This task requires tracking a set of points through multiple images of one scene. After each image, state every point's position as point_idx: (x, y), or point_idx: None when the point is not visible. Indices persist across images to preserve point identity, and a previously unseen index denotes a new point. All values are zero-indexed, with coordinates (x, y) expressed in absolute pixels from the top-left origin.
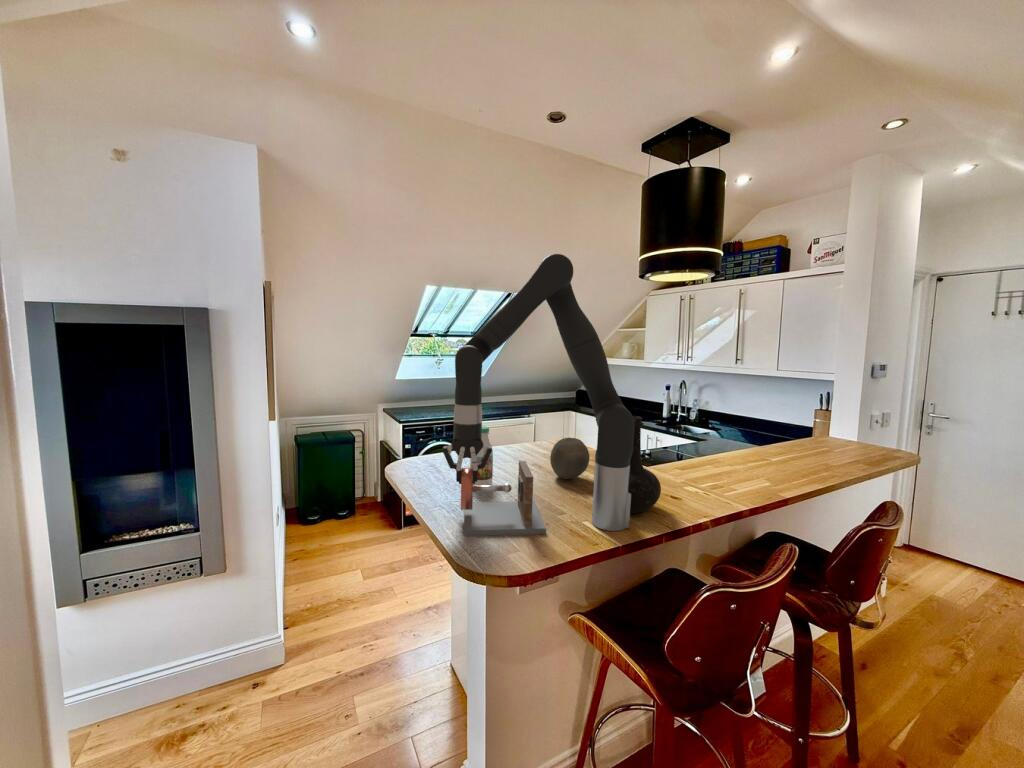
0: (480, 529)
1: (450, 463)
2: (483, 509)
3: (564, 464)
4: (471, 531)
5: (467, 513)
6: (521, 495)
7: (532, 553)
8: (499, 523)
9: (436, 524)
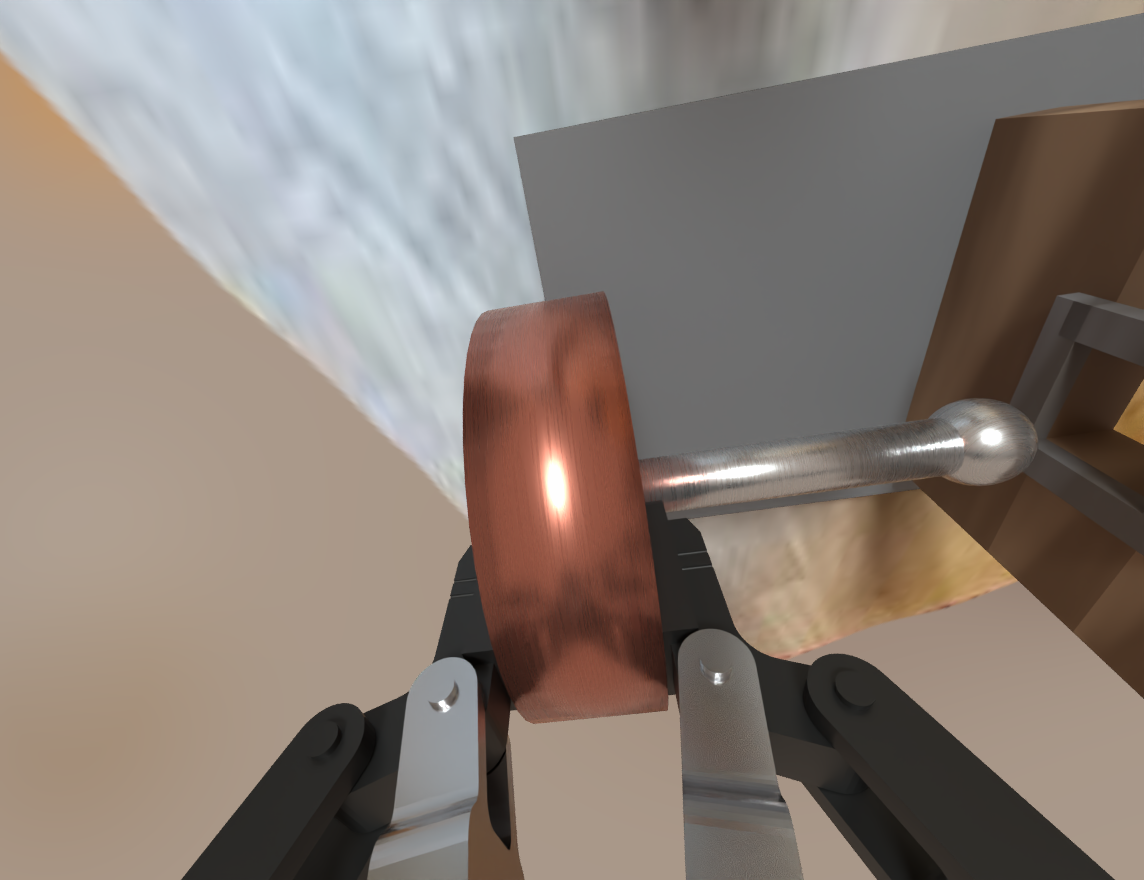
0: None
1: (350, 861)
2: (682, 281)
3: None
4: None
5: None
6: (1040, 475)
7: (845, 584)
8: None
9: (424, 430)
